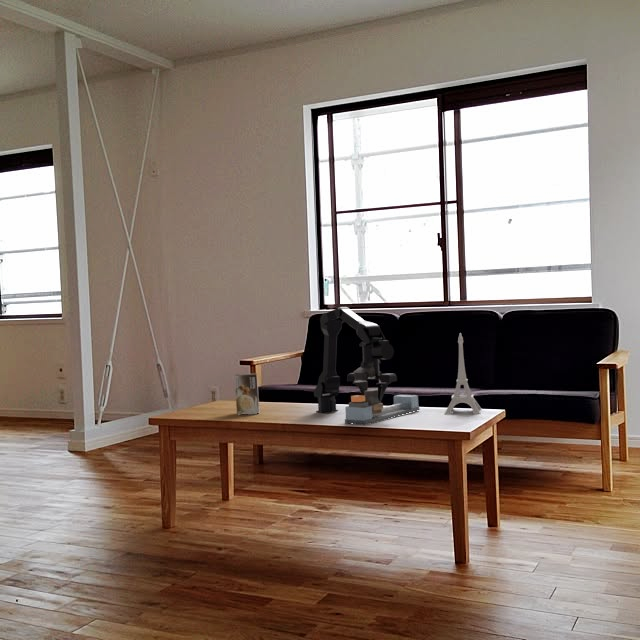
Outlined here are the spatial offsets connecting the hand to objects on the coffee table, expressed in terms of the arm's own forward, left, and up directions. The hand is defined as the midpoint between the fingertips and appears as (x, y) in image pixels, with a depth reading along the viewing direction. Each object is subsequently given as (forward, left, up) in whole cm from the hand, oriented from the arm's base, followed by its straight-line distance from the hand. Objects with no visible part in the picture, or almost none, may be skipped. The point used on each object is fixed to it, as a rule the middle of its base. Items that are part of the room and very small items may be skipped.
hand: (372, 401), depth 288 cm
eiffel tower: (+21, +30, -7) cm, 37 cm away
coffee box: (-57, -6, -7) cm, 58 cm away
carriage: (0, 0, -5) cm, 5 cm away
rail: (0, +7, -7) cm, 10 cm away
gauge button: (0, -9, +1) cm, 9 cm away
